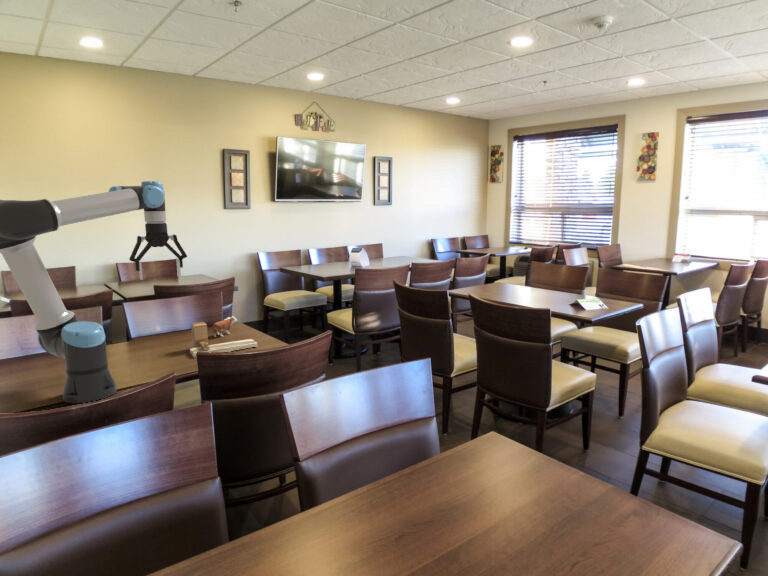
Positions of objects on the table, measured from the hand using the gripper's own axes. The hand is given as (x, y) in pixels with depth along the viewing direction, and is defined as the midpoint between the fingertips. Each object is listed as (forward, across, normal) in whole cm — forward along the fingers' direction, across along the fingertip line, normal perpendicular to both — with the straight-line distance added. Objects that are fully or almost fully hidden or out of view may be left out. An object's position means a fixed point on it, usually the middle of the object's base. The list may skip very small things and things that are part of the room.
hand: (160, 277), depth 192 cm
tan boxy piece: (+33, -14, -1) cm, 36 cm away
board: (+33, -22, +2) cm, 39 cm away
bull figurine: (+33, -29, -22) cm, 49 cm away
